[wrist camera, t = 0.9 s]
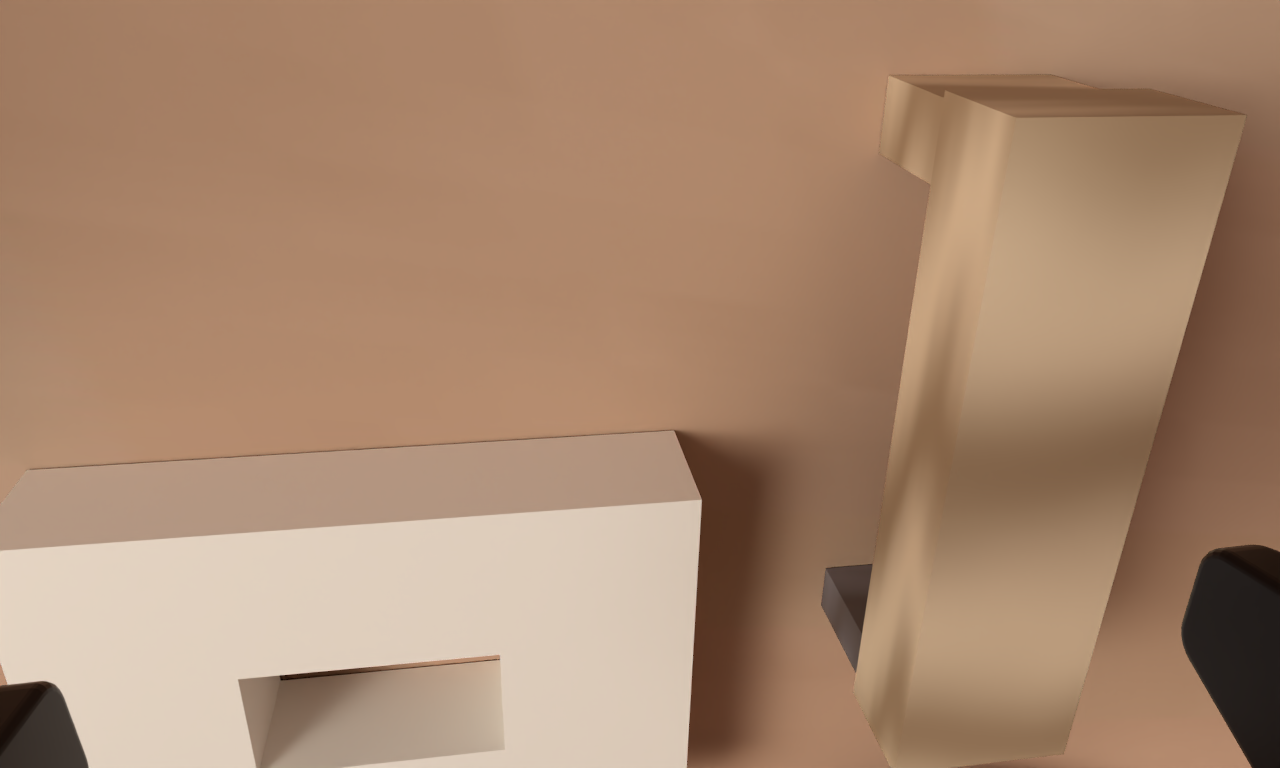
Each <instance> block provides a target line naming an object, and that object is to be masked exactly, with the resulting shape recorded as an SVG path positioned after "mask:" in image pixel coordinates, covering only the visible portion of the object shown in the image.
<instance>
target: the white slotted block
mask: <svg viewBox="0 0 1280 768" xmlns="http://www.w3.org/2000/svg"><path fill="white" fill-rule="evenodd" d="M701 506H702V499H701V496H700V494H699V491H698V489H697V486H696V484H695V481H694V479H693V476H692V474H691V471H690V469H689V466H688V464H687V461H686V459H685V457H684V454H683V452H682V449H681V447H680V444H679V442H678V439H677V437H676V434H675V432H674V431H657V432H641V433H625V434H608V435H592V436H576V437H559V438H543V439H527V440H510V441H494V442H478V443H461V444H445V445H429V446H412V447H396V448H380V449H363V450H347V451H331V452H314V453H298V454H282V455H265V456H249V457H233V458H216V459H200V460H184V461H167V462H151V463H135V464H118V465H102V466H86V467H69V468H53V469H37V470H26V472H25V473H24V474H23V475H22V477H21V478H20V479H19V481H18V482H17V483H16V485H15V486H14V487H13V488H12V490H11V491H10V492H9V494H8V495H7V496H6V498H5V499H4V500H3V502H2V503H1V504H0V663H1V666H2V669H3V672H4V675H5V678H6V681H7V683H8V685H10V684H19V683H28V682H37V681H47V682H51V683H53V684H55V685H56V686H57V687H58V688H59V689H60V691H61V692H62V694H63V696H64V698H65V701H66V704H67V707H68V709H69V712H70V715H71V717H72V720H73V723H74V725H75V728H76V731H77V734H78V736H79V739H80V742H81V744H82V747H83V750H84V752H85V755H86V758H87V762H88V766H89V768H687V753H688V735H689V718H690V700H691V682H692V665H693V647H694V630H695V612H696V594H697V577H698V559H699V541H700V524H701ZM491 655H500V660H493V661H483V662H472V663H462V664H451V665H441V666H430V667H420V668H409V669H399V670H388V671H378V672H367V673H357V674H346V675H336V676H325V677H315V678H304V679H294V680H283V681H280V675H290V674H300V673H311V672H321V671H332V670H343V669H353V668H364V667H374V666H385V665H396V664H406V663H417V662H427V661H438V660H448V659H459V658H470V657H480V656H491Z"/></svg>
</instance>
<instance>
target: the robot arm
mask: <svg viewBox="0 0 1280 768" xmlns="http://www.w3.org/2000/svg"><path fill="white" fill-rule="evenodd" d="M1181 636H1182V641H1183V646H1184V649H1185V651H1186V654H1187V656H1188V658H1189V660H1190V662H1191V663H1192V665H1193V667H1194V668H1195V670H1196V672H1197V674H1198V675H1199V677H1200V679H1201V681H1202V682H1203V684H1204V686H1205V687H1206V689H1207V691H1208V693H1209V694H1210V696H1211V698H1212V699H1213V701H1214V703H1215V705H1216V706H1217V708H1218V710H1219V712H1220V713H1221V715H1222V717H1223V718H1224V720H1225V722H1226V724H1227V725H1228V727H1229V729H1230V730H1231V732H1232V734H1233V736H1234V737H1235V739H1236V741H1237V743H1238V744H1239V746H1240V748H1241V749H1242V751H1243V753H1244V755H1245V756H1246V758H1247V760H1248V762H1249V763H1250V765H1251V767H1252V768H1280V552H1278V551H1276V550H1273V549H1271V548H1268V547H1265V546H1261V545H1244V546H1235V547H1226V548H1218V549H1215V550H1212V551H1210V552H1209V553H1208V554H1207V555H1206V556H1205V557H1204V558H1203V559H1202V561H1201V563H1200V566H1199V569H1198V572H1197V576H1196V579H1195V582H1194V585H1193V589H1192V592H1191V595H1190V599H1189V602H1188V605H1187V608H1186V612H1185V615H1184V618H1183V622H1182V627H1181ZM0 768H89V766H88V762H87V758H86V755H85V752H84V750H83V747H82V744H81V742H80V739H79V736H78V734H77V731H76V728H75V725H74V723H73V720H72V717H71V715H70V712H69V709H68V707H67V704H66V701H65V698H64V696H63V694H62V692H61V691H60V689H59V688H58V687H57V686H56V685H55V684H53V683H51V682H47V681H37V682H28V683H19V684H10V685H1V686H0Z"/></svg>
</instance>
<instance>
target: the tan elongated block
mask: <svg viewBox="0 0 1280 768" xmlns="http://www.w3.org/2000/svg"><path fill="white" fill-rule="evenodd" d="M1246 118H1247V115H1245V114H1241V113H1238V112H1234V111H1230V110H1227V109H1223V108H1219V107H1215V106H1212V105H1208V104H1204V103H1201V102H1197V101H1193V100H1190V99H1186V98H1182V97H1179V96H1175V95H1171V94H1167V93H1164V92H1160V91H1156V90H1153V89H1098V88H1094V87H1091V86H1088V85H1084V84H1081V83H1077V82H1074V81H1071V80H1067V79H1064V78H1060V77H1057V76H1053V75H889V76H888V84H887V92H886V100H885V108H884V116H883V123H882V131H881V139H880V147H879V154H880V155H882V156H884V157H885V158H887V159H889V160H890V161H892V162H894V163H895V164H897V165H899V166H900V167H902V168H904V169H905V170H907V171H909V172H910V173H912V174H914V175H915V176H917V177H919V178H920V179H922V180H924V181H925V182H927V183H928V184H930V192H929V198H928V205H927V212H926V218H925V225H924V231H923V238H922V244H921V251H920V257H919V264H918V271H917V277H916V284H915V290H914V297H913V303H912V310H911V316H910V323H909V330H908V336H907V343H906V349H905V356H904V362H903V369H902V375H901V382H900V389H899V395H898V402H897V408H896V415H895V421H894V428H893V434H892V441H891V448H890V454H889V461H888V467H887V474H886V480H885V487H884V493H883V500H882V507H881V513H880V520H879V526H878V533H877V539H876V546H875V552H874V559H873V564H872V565H860V566H848V567H837V568H826V572H825V580H824V588H823V595H822V603H821V606H822V608H823V610H824V612H825V613H826V615H827V617H828V619H829V621H830V623H831V625H832V627H833V629H834V631H835V633H836V635H837V637H838V639H839V641H840V643H841V645H842V647H843V649H844V651H845V653H846V655H847V656H848V658H849V660H850V662H851V664H852V666H853V668H854V670H855V672H856V677H855V684H854V690H853V693H854V695H855V697H856V699H857V701H858V703H859V705H860V707H861V709H862V711H863V713H864V715H865V717H866V719H867V721H868V723H869V725H870V727H871V729H872V731H873V733H874V735H875V737H876V739H877V741H878V743H879V745H880V747H881V749H882V751H883V753H884V755H885V757H886V760H887V762H888V764H889V766H890V768H954V767H962V766H970V765H978V764H987V763H995V762H1003V761H1012V760H1020V759H1028V758H1036V757H1045V756H1053V755H1061V754H1064V751H1065V748H1066V744H1067V741H1068V737H1069V734H1070V730H1071V727H1072V723H1073V720H1074V716H1075V713H1076V710H1077V706H1078V703H1079V699H1080V696H1081V692H1082V689H1083V685H1084V682H1085V678H1086V675H1087V671H1088V668H1089V664H1090V661H1091V657H1092V654H1093V650H1094V647H1095V643H1096V640H1097V636H1098V633H1099V629H1100V626H1101V622H1102V619H1103V616H1104V612H1105V609H1106V605H1107V602H1108V598H1109V595H1110V591H1111V588H1112V584H1113V581H1114V577H1115V574H1116V570H1117V567H1118V563H1119V560H1120V556H1121V553H1122V549H1123V546H1124V542H1125V539H1126V535H1127V532H1128V529H1129V525H1130V522H1131V518H1132V515H1133V511H1134V508H1135V504H1136V501H1137V497H1138V494H1139V490H1140V487H1141V483H1142V480H1143V476H1144V473H1145V469H1146V466H1147V462H1148V459H1149V455H1150V452H1151V448H1152V445H1153V441H1154V438H1155V435H1156V431H1157V428H1158V424H1159V421H1160V417H1161V414H1162V410H1163V407H1164V403H1165V400H1166V396H1167V393H1168V389H1169V386H1170V382H1171V379H1172V375H1173V372H1174V368H1175V365H1176V361H1177V358H1178V354H1179V351H1180V348H1181V344H1182V341H1183V337H1184V334H1185V330H1186V327H1187V323H1188V320H1189V316H1190V313H1191V309H1192V306H1193V302H1194V299H1195V295H1196V292H1197V288H1198V285H1199V281H1200V278H1201V274H1202V271H1203V267H1204V264H1205V260H1206V257H1207V254H1208V250H1209V247H1210V243H1211V240H1212V236H1213V233H1214V229H1215V226H1216V222H1217V219H1218V215H1219V212H1220V208H1221V205H1222V201H1223V198H1224V194H1225V191H1226V187H1227V184H1228V180H1229V177H1230V173H1231V170H1232V167H1233V163H1234V160H1235V156H1236V153H1237V149H1238V146H1239V142H1240V139H1241V135H1242V132H1243V128H1244V125H1245V121H1246Z"/></svg>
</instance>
